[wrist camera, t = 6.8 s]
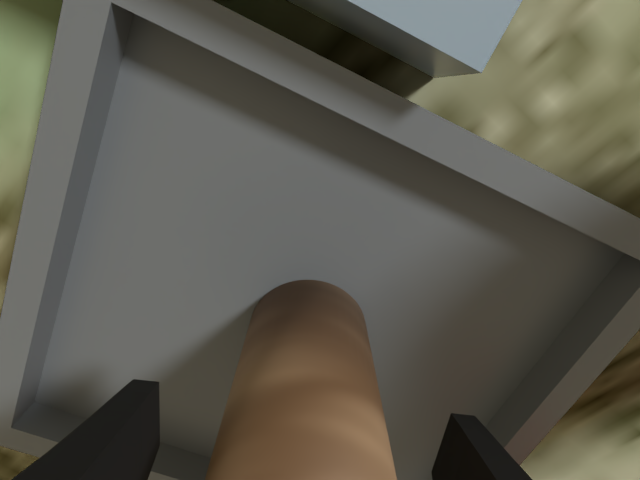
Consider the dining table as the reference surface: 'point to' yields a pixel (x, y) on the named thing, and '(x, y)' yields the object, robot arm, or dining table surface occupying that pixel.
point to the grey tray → (288, 241)
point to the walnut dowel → (304, 393)
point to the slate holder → (424, 29)
